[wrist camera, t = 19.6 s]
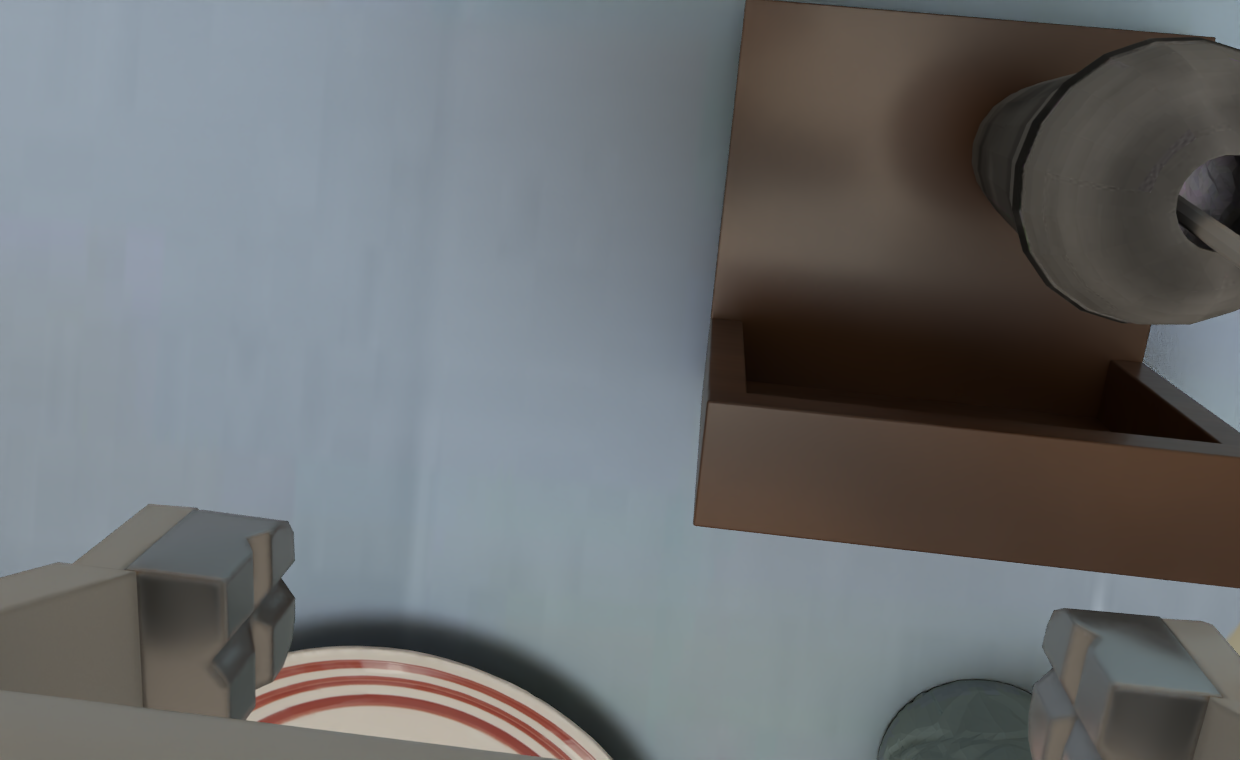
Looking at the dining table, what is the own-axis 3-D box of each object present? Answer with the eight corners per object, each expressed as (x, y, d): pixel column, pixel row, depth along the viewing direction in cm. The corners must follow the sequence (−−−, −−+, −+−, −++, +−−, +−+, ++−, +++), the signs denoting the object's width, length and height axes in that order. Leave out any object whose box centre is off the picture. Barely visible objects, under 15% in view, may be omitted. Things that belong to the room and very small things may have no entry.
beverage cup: (1186, 102, 38) (1652, 138, 19) (1071, 288, 40) (1386, 489, 21) (1000, 7, 38) (1282, -54, 19) (893, 199, 40) (1049, 321, 21)
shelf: (744, 2, 41) (754, -30, 27) (1181, 39, 40) (1425, 25, 26) (702, 384, 46) (692, 526, 32) (1097, 426, 45) (1268, 592, 31)
